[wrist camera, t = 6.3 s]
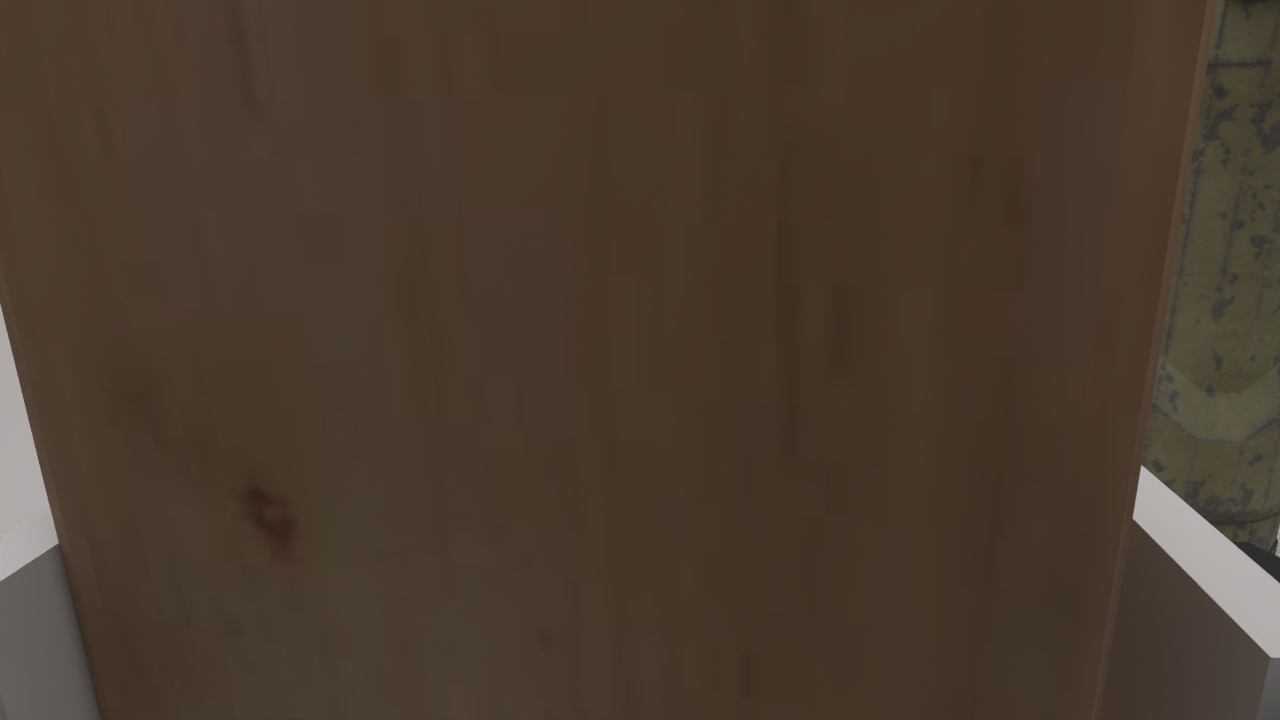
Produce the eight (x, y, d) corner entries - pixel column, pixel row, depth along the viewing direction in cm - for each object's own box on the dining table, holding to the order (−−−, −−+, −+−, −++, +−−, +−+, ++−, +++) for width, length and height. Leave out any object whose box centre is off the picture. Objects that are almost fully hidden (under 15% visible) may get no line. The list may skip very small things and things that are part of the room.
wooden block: (226, 1304, 12) (-189, -334, 6) (522, 791, 21) (459, -77, 16) (956, 1671, 9) (1380, -760, 3) (937, 892, 18) (1046, -133, 13)
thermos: (1199, 471, 39) (1381, -449, 29) (1354, 615, 28) (1735, -791, 18) (1000, 459, 41) (1107, -416, 31) (1070, 590, 30) (1274, -710, 20)
